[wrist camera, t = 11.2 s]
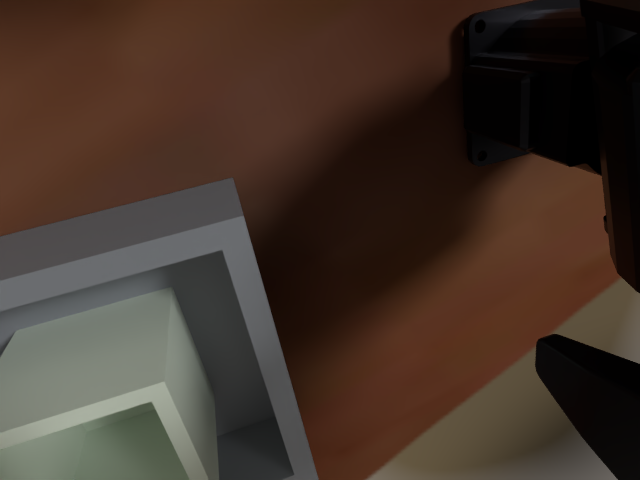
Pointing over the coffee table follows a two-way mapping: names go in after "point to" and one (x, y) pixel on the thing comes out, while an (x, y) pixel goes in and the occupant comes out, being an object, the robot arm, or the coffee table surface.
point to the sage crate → (108, 397)
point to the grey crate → (195, 302)
